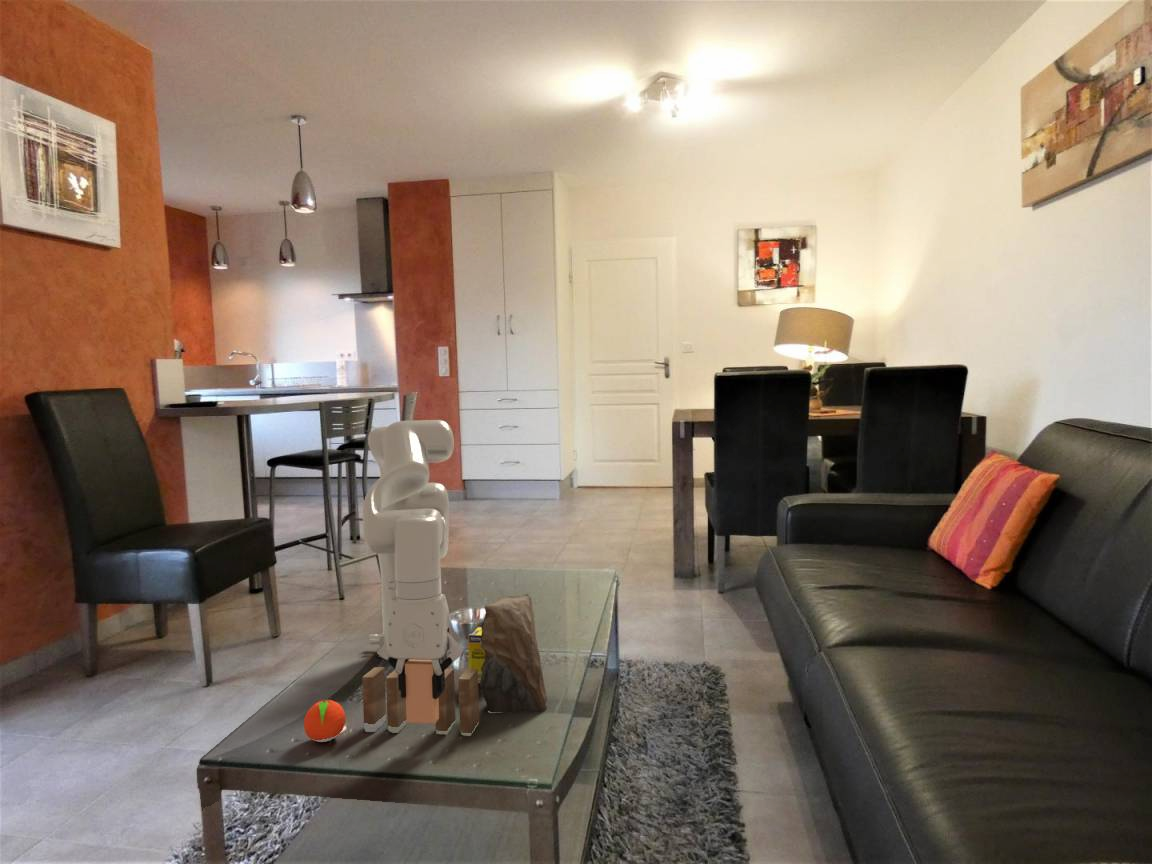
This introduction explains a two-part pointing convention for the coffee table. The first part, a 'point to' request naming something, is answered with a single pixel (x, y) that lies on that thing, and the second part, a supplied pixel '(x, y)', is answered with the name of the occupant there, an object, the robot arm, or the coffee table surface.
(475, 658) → the supplement box
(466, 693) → the domino
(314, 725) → the clementine
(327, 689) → the coffee table surface
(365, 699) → the domino
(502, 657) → the brown rough lump
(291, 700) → the coffee table surface
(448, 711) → the domino
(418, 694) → the domino
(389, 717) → the domino
